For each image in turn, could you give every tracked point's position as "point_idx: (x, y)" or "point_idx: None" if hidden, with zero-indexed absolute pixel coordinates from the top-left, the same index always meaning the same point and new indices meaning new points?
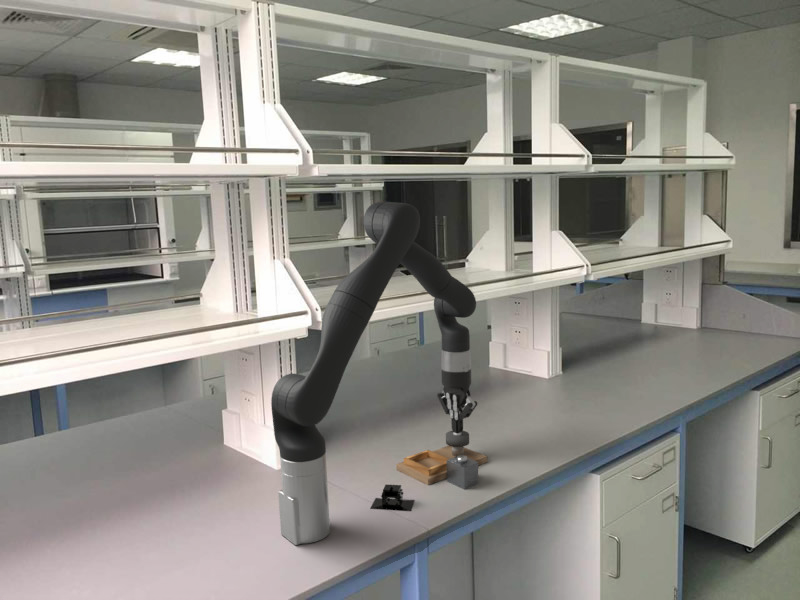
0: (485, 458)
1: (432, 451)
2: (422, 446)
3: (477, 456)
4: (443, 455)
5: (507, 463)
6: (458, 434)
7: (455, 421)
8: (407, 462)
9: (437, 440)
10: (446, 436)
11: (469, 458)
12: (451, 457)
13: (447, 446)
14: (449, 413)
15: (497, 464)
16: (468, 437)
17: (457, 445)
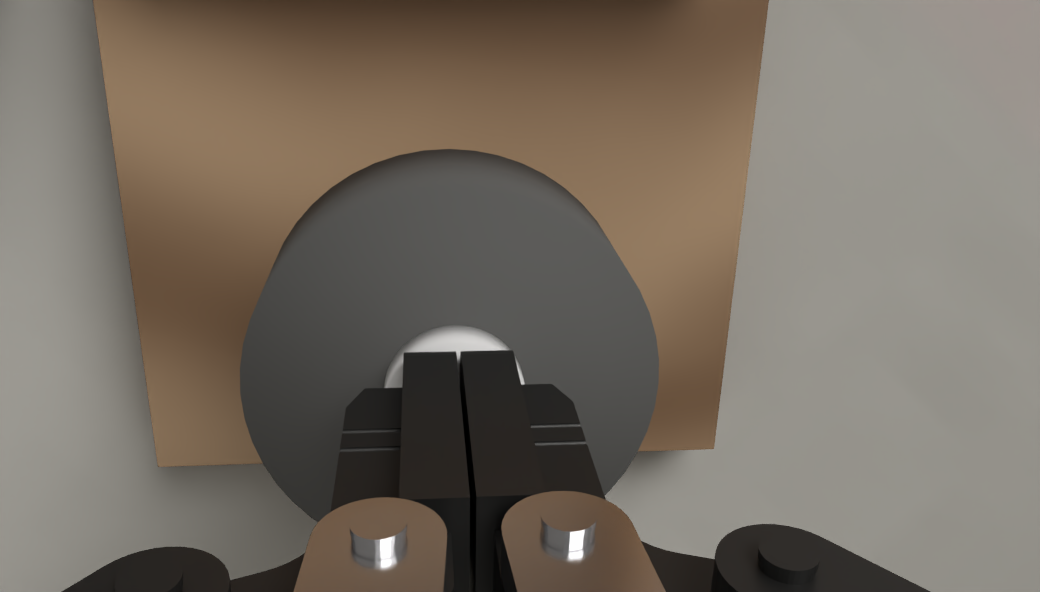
0: (158, 434)
1: (754, 87)
2: (1030, 206)
3: (227, 388)
4: (548, 99)
5: (7, 552)
6: (392, 373)
7: (416, 474)
8: None
9: (992, 433)
10: (538, 199)
11: (241, 279)
12: (424, 133)
13: (717, 336)
14: (711, 587)
15: (49, 466)
16: (274, 458)
17: (305, 212)
